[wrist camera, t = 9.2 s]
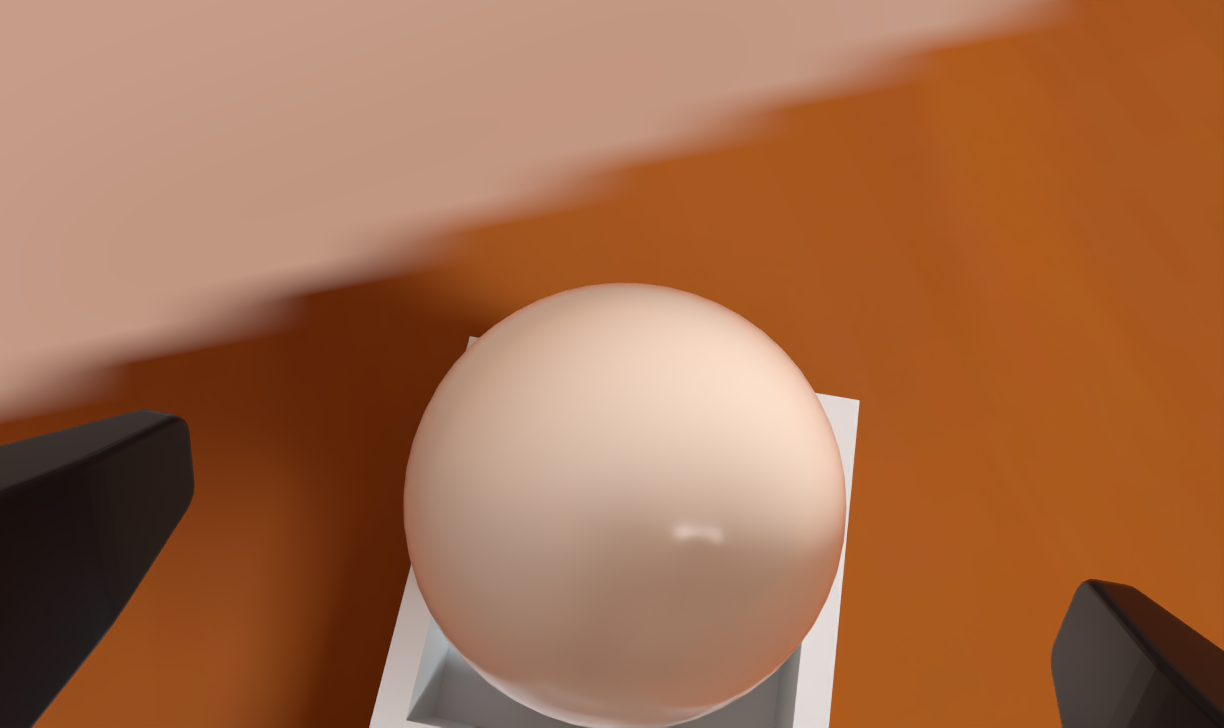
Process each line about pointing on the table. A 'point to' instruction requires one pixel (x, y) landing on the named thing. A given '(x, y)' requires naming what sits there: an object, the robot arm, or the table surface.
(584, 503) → the cream tall rounded piece
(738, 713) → the white compartment tray
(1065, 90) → the table surface
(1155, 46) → the table surface
